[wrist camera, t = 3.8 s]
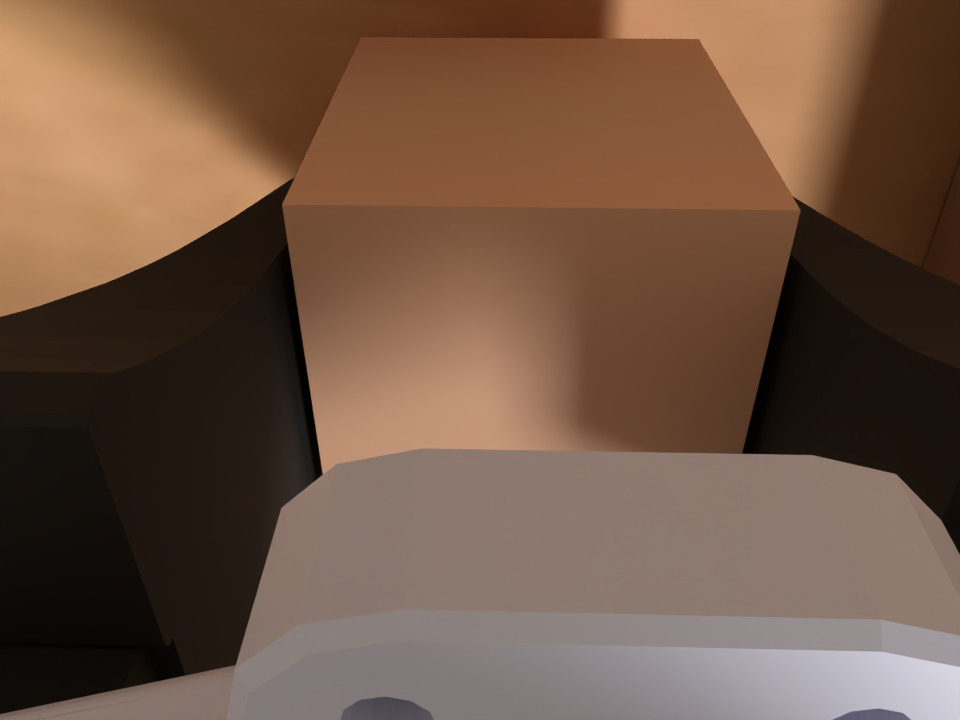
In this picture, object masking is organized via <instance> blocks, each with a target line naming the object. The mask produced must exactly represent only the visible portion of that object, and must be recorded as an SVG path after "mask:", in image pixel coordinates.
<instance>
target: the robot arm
mask: <svg viewBox="0 0 960 720" xmlns="http://www.w3.org/2000/svg"><path fill="white" fill-rule="evenodd" d="M294 178H295V177H294ZM294 178H293V179H291V180H290V181H288V182H286V183H285V184H283V185H282V186H280V187H279V188H277V189H276V190H274V191H273V192H271V193H270V194H268V195H267V196H265V197H264V198H262V199H261V200H259V201H258V202H256V203H255V204H253V205H252V206H250V207H249V208H247V209H246V210H244V211H243V212H241V213H240V214H238V215H237V216H235V217H234V218H232V219H230V220H229V221H227V222H225V223H224V224H222V225H220V226H218V227H217V228H215V229H213V230H212V231H210V232H208V233H206V234H205V235H203V236H201V237H200V238H198V239H196V240H195V241H193V242H191V243H189V244H188V245H186V246H184V247H183V248H181V249H179V250H177V251H175V252H173V253H171V254H169V255H167V256H165V257H163V258H161V259H159V260H157V261H155V262H153V263H151V264H149V265H147V266H144V267H142V268H140V269H138V270H135V271H133V272H131V273H129V274H126V275H124V276H122V277H119V278H117V279H115V280H112V281H110V282H107V283H105V284H102V285H99V286H96V287H93V288H90V289H88V290H85V291H82V292H79V293H76V294H73V295H70V296H67V297H64V298H62V299H59V300H56V301H53V302H50V303H47V304H44V305H41V306H38V307H35V308H32V309H28V310H25V311H21V312H17V313H14V314H10V315H7V316H3V317H0V720H960V285H959V284H957V283H954V282H952V281H950V280H947V279H945V278H942V277H940V276H937V275H935V274H933V273H930V272H928V271H926V270H924V269H922V268H920V267H917V266H915V265H913V264H911V263H909V262H907V261H905V260H903V259H901V258H899V257H897V256H895V255H893V254H892V253H890V252H888V251H886V250H884V249H882V248H880V247H878V246H876V245H874V244H872V243H870V242H869V241H867V240H865V239H863V238H861V237H860V236H858V235H856V234H854V233H852V232H851V231H849V230H847V229H846V228H844V227H842V226H840V225H839V224H837V223H835V222H834V221H832V220H830V219H829V218H827V217H825V216H824V215H822V214H820V213H819V212H817V211H815V210H814V209H812V208H810V207H809V206H807V205H806V204H804V203H802V202H801V201H799V200H797V199H796V198H794V197H793V198H794V200H795V202H796V203H797V205H798V207H799V208H800V210H801V211H800V215H799V219H798V223H797V228H796V232H795V236H794V240H793V244H792V248H791V252H790V257H789V261H788V265H787V269H786V273H785V277H784V282H783V286H782V290H781V294H780V298H779V302H778V306H777V311H776V315H775V319H774V323H773V327H772V331H771V336H770V340H769V344H768V348H767V352H766V356H765V360H764V365H763V369H762V373H761V377H760V381H759V385H758V389H757V394H756V398H755V402H754V406H753V410H752V414H751V419H750V423H749V427H748V431H747V435H746V439H745V443H744V448H743V452H742V454H716V453H659V452H601V451H544V450H486V449H429V448H421V449H416V450H410V451H405V452H400V453H394V454H389V455H383V456H378V457H372V458H367V459H362V460H356V461H351V462H345V463H340V464H336V465H334V466H333V467H332V468H331V469H329V470H328V471H327V472H326V473H324V474H323V472H322V466H321V459H320V452H319V446H318V439H317V433H316V426H315V419H314V413H313V406H312V400H311V393H310V386H309V380H308V373H307V366H306V360H305V353H304V347H303V340H302V333H301V327H300V320H299V314H298V307H297V300H296V294H295V287H294V280H293V274H292V267H291V261H290V254H289V247H288V241H287V234H286V227H285V221H284V214H283V208H282V204H283V202H284V200H285V197H286V195H287V193H288V191H289V189H290V187H291V185H292V183H293V180H294Z"/></svg>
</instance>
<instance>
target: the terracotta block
mask: <svg viewBox="0 0 960 720" xmlns="http://www.w3.org/2000/svg"><path fill="white" fill-rule="evenodd" d="M282 208H283V214H284V221H285V227H286V234H287V241H288V247H289V254H290V261H291V267H292V274H293V280H294V287H295V294H296V300H297V307H298V314H299V320H300V327H301V333H302V340H303V347H304V353H305V360H306V366H307V373H308V380H309V386H310V393H311V400H312V406H313V413H314V419H315V426H316V433H317V439H318V446H319V452H320V459H321V466H322V472H323V474H324V473H326V472H327V471H328V470H329V469H331V468H332V467H333V466H334V465H336V464H340V463H345V462H351V461H356V460H362V459H367V458H372V457H378V456H383V455H389V454H394V453H400V452H405V451H410V450H416V449H421V448H429V449H486V450H544V451H601V452H659V453H716V454H742V452H743V448H744V443H745V439H746V435H747V431H748V427H749V423H750V419H751V414H752V410H753V406H754V402H755V398H756V394H757V389H758V385H759V381H760V377H761V373H762V369H763V365H764V360H765V356H766V352H767V348H768V344H769V340H770V336H771V331H772V327H773V323H774V319H775V315H776V311H777V306H778V302H779V298H780V294H781V290H782V286H783V282H784V277H785V273H786V269H787V265H788V261H789V257H790V252H791V248H792V244H793V240H794V236H795V232H796V228H797V223H798V219H799V215H800V211H801V210H800V208H799V207H798V205H797V203H796V202H795V200H794V198H793V197H792V195H791V193H790V192H789V190H788V188H787V187H786V185H785V183H784V182H783V180H782V178H781V176H780V175H779V173H778V171H777V170H776V168H775V166H774V165H773V163H772V161H771V160H770V158H769V156H768V155H767V153H766V151H765V150H764V148H763V146H762V145H761V143H760V141H759V140H758V138H757V136H756V135H755V133H754V131H753V130H752V128H751V126H750V124H749V123H748V121H747V119H746V118H745V116H744V114H743V113H742V111H741V109H740V108H739V106H738V104H737V103H736V101H735V99H734V98H733V96H732V94H731V93H730V91H729V89H728V88H727V86H726V84H725V83H724V81H723V79H722V78H721V76H720V74H719V72H718V71H717V69H716V67H715V66H714V64H713V62H712V61H711V59H710V57H709V56H708V54H707V52H706V51H705V49H704V47H703V46H702V44H701V42H700V41H699V39H585V38H425V37H361V38H360V40H359V42H358V45H357V47H356V49H355V51H354V53H353V55H352V57H351V59H350V62H349V64H348V66H347V68H346V70H345V72H344V74H343V76H342V78H341V81H340V83H339V85H338V87H337V89H336V91H335V93H334V95H333V98H332V100H331V102H330V104H329V106H328V108H327V110H326V112H325V115H324V117H323V119H322V121H321V123H320V125H319V127H318V129H317V132H316V134H315V136H314V138H313V140H312V142H311V144H310V146H309V149H308V151H307V153H306V155H305V157H304V159H303V161H302V163H301V166H300V168H299V170H298V172H297V174H296V176H295V178H294V180H293V183H292V185H291V187H290V189H289V191H288V193H287V195H286V197H285V200H284V202H283V204H282Z"/></svg>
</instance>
